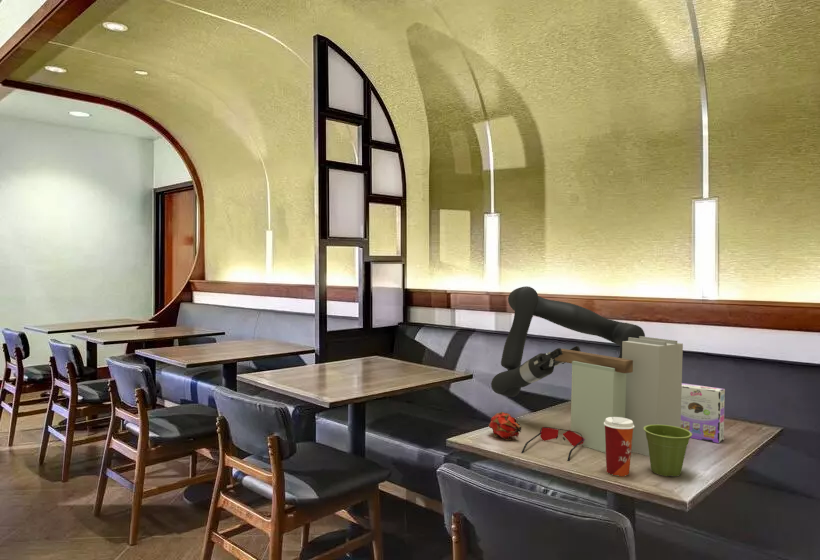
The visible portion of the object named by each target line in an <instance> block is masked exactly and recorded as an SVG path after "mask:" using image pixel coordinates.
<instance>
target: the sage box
mask: <svg viewBox="0 0 820 560" xmlns="http://www.w3.org/2000/svg"><path fill="white" fill-rule="evenodd" d="M570 394H571V395H570V396H571V397H570V400H571V401H570V403H571V404H570V430H571V431H575V432H574V433H576V432H578V433H576V434H578V435H579V436H581V435H582V436H581V437H583V438H584V441H583V444H580V445H579V446H582V445H583V447H585V448H589V449H592V450H596V451H598V452H602V453H604V454H606V444H605V425H604V422H605V419H606V418H608V417H622V418H625V406H626V373H620V372H615V368H610V367H604V366H599V365H593V364H588V363H582V362H576V361H572V363H571V393H570ZM579 433H580V434H581V435H580V434H579Z"/></svg>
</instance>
